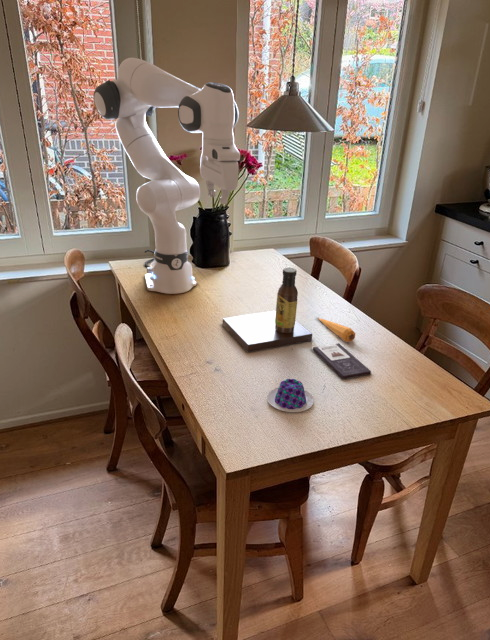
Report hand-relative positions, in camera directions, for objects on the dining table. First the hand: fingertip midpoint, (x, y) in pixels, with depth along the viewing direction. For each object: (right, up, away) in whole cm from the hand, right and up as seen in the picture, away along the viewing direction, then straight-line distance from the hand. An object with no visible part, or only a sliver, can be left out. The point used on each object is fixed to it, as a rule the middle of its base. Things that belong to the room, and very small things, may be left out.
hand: (217, 200), depth 156 cm
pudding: (+20, -58, -19) cm, 64 cm away
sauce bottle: (+20, -37, +11) cm, 44 cm away
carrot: (+37, -37, +19) cm, 55 cm away
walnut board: (+14, -38, +15) cm, 43 cm away
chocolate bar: (+36, -47, 0) cm, 60 cm away
